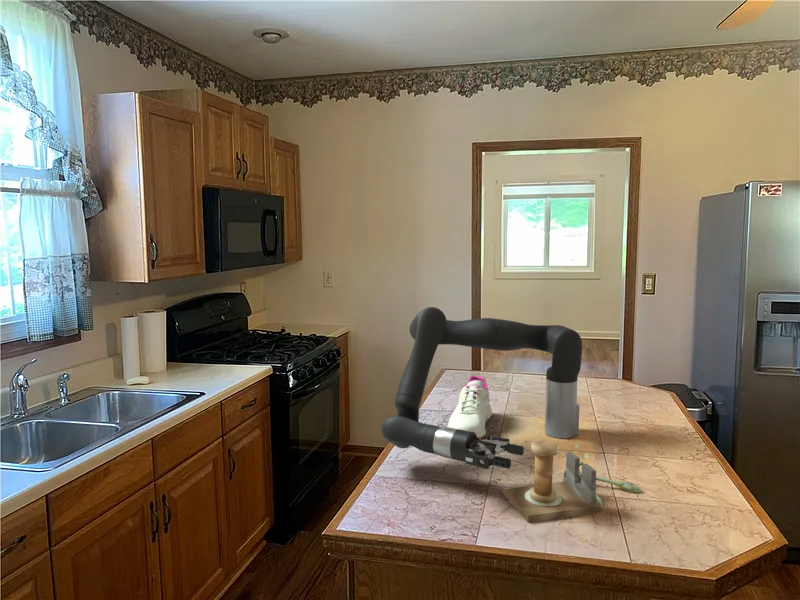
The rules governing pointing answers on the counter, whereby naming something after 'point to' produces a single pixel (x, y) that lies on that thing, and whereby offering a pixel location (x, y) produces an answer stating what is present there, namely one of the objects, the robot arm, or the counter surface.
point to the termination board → (560, 495)
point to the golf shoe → (472, 407)
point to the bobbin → (543, 471)
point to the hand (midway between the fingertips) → (517, 457)
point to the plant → (622, 484)
